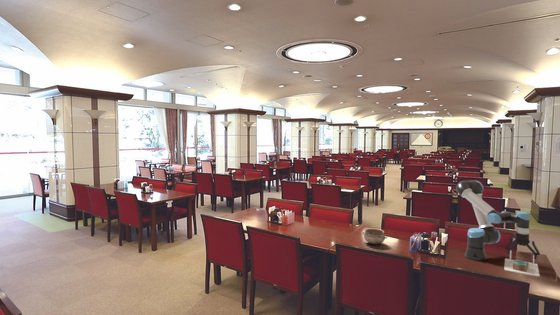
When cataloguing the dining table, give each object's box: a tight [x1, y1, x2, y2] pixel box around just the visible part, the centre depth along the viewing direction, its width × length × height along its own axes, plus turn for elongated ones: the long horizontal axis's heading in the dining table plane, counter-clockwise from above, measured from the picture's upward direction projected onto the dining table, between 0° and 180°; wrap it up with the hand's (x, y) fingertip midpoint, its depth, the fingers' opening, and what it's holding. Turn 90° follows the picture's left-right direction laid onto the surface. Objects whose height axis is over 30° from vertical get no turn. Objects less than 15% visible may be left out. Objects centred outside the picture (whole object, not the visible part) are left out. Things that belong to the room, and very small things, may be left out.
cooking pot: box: [361, 228, 388, 246], centre depth 287 cm, size 25×19×12 cm
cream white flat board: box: [503, 258, 541, 278], centre depth 232 cm, size 28×20×1 cm
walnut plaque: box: [513, 258, 530, 272], centre depth 228 cm, size 8×4×12 cm
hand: (521, 261), depth 230 cm, fingers open, 13 cm apart
